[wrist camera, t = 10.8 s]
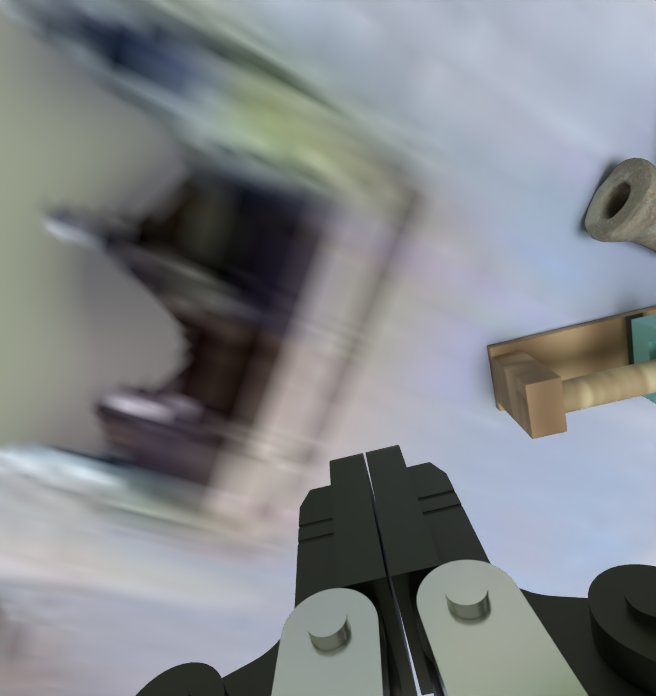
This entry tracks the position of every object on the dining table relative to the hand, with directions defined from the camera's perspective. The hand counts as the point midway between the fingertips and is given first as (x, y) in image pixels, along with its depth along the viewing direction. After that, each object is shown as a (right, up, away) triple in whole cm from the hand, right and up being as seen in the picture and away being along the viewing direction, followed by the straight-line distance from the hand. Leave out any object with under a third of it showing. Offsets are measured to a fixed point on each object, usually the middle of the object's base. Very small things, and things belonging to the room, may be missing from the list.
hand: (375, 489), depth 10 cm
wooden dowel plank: (+22, +2, +32) cm, 39 cm away
